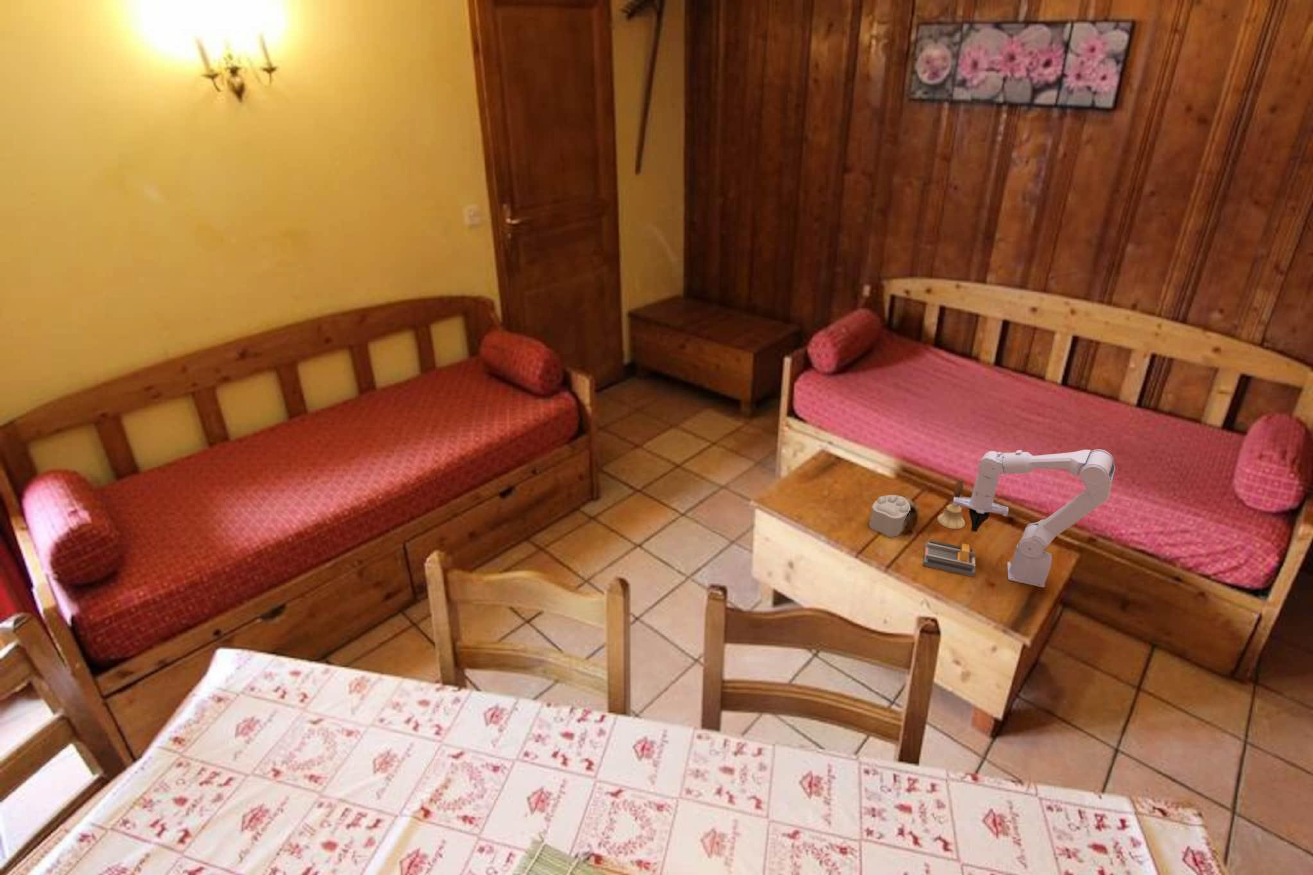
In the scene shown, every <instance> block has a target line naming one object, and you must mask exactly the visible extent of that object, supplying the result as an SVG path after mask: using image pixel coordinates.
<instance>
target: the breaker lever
mask: <svg viewBox="0 0 1313 875" xmlns="http://www.w3.org/2000/svg"><path fill="white" fill-rule="evenodd" d="M970 549H971V548H970V544H967V543H963V542H962V543H961V550H960V552H958V555H957V560H959V561H963V562H968V563H969V552H970Z"/></svg>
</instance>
